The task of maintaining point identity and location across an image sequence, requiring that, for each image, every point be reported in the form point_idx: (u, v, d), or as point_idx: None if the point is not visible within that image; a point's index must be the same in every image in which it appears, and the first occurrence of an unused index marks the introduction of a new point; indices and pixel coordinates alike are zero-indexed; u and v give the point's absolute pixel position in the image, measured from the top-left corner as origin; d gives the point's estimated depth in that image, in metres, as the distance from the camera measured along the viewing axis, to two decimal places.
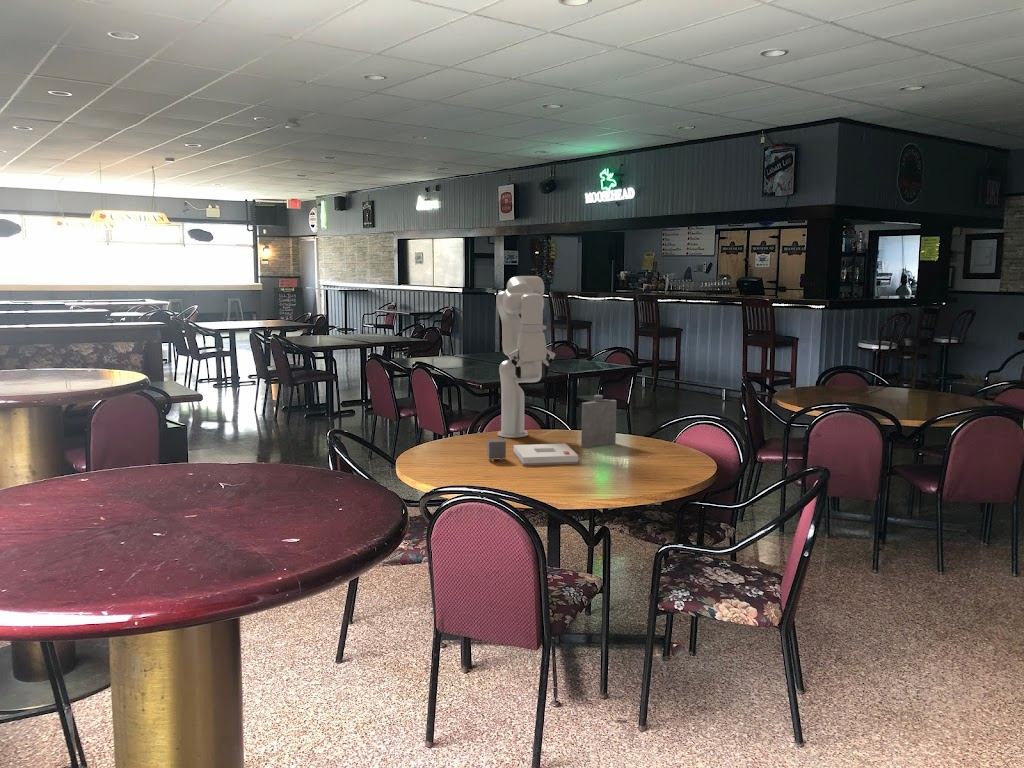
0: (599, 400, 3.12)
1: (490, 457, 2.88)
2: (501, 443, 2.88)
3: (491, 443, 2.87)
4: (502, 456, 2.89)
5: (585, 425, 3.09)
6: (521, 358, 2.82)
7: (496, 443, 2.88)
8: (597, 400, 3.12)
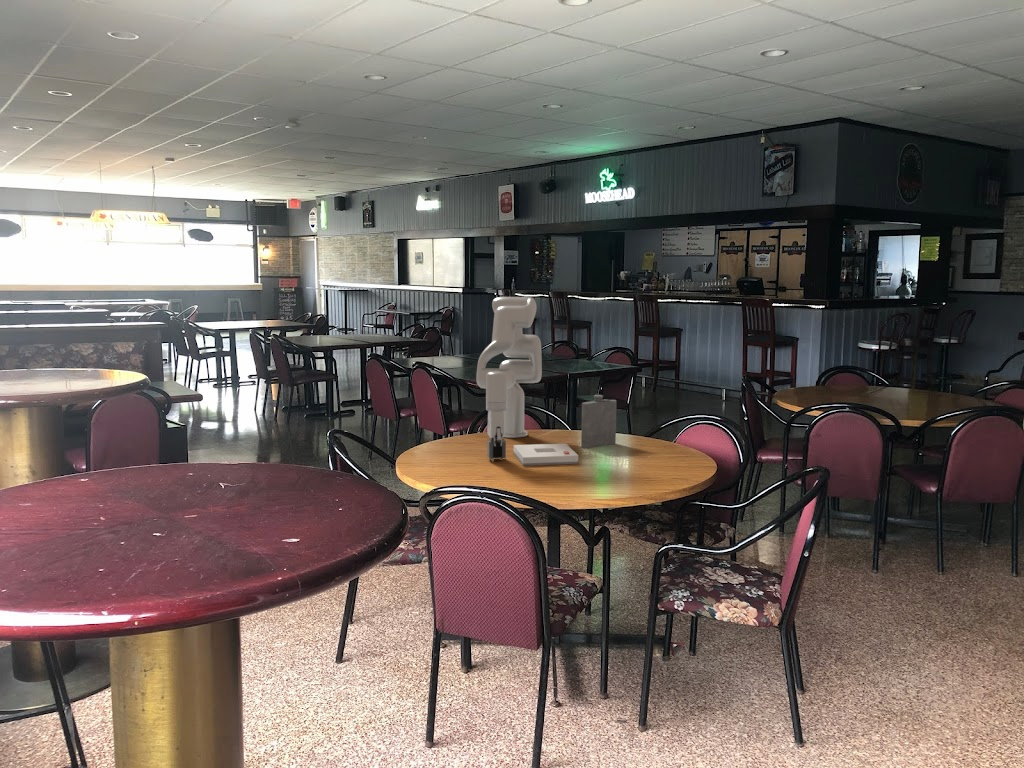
0: (599, 400, 3.12)
1: (490, 457, 2.88)
2: None
3: (491, 443, 2.87)
4: (502, 456, 2.89)
5: (585, 425, 3.09)
6: (503, 435, 2.86)
7: None
8: (597, 400, 3.12)
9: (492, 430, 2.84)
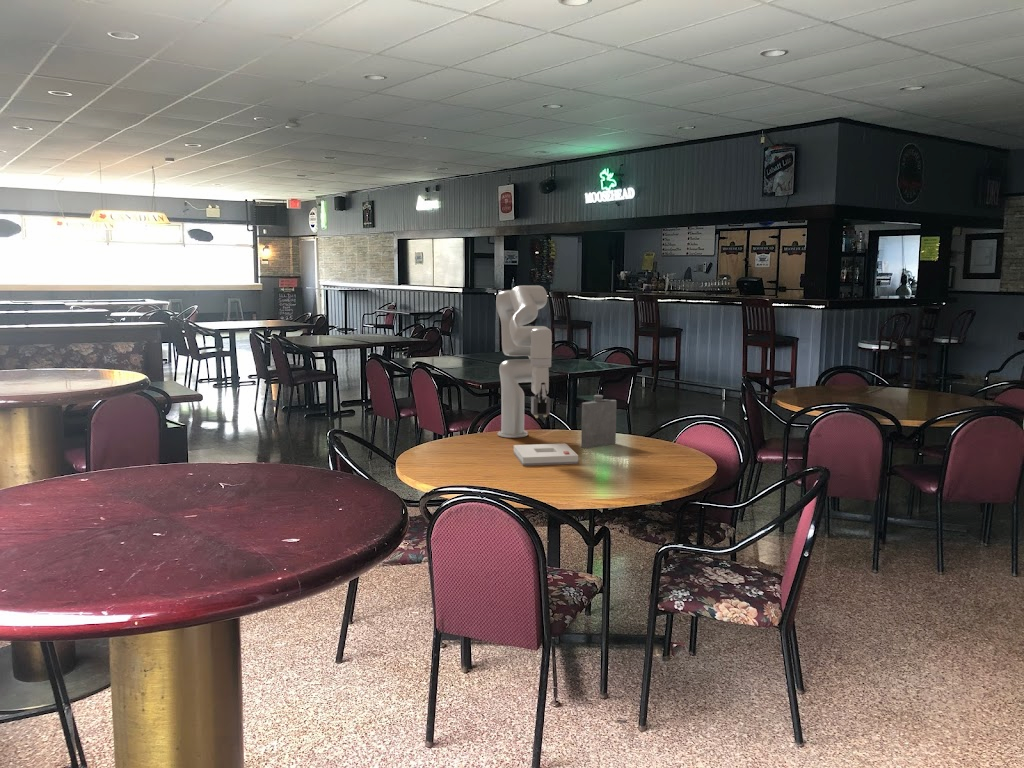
0: (599, 400, 3.12)
1: (534, 414, 2.88)
2: None
3: (535, 400, 2.88)
4: (546, 413, 2.89)
5: (585, 425, 3.09)
6: None
7: None
8: (597, 400, 3.12)
9: (537, 386, 2.85)
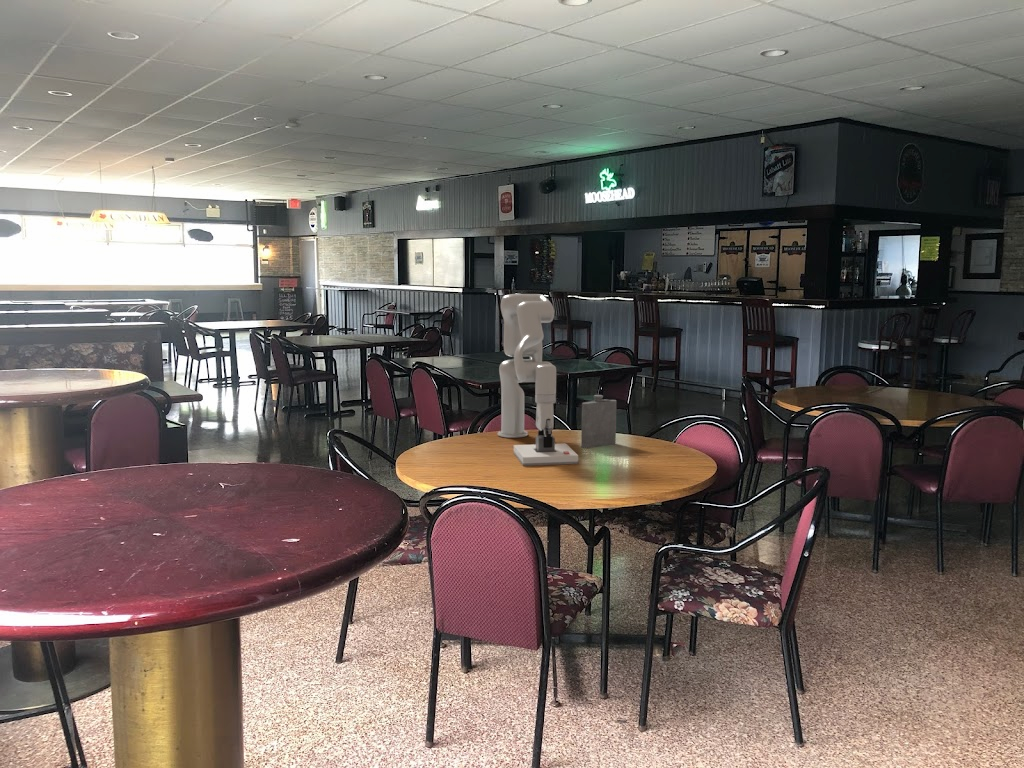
0: (599, 400, 3.12)
1: None
2: None
3: (540, 439, 2.90)
4: None
5: (585, 425, 3.09)
6: None
7: None
8: (597, 400, 3.12)
9: (542, 422, 2.87)
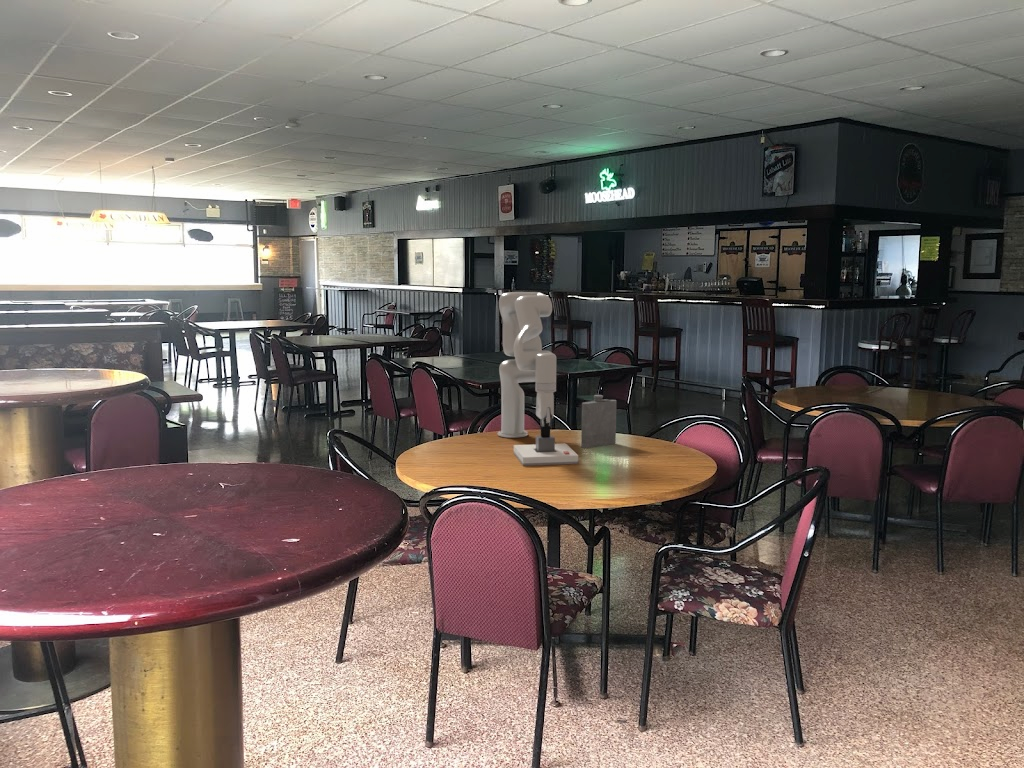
0: (599, 400, 3.12)
1: None
2: (550, 439, 2.91)
3: (540, 439, 2.90)
4: None
5: (585, 425, 3.09)
6: (553, 416, 2.88)
7: (545, 439, 2.90)
8: (597, 400, 3.12)
9: (542, 411, 2.86)
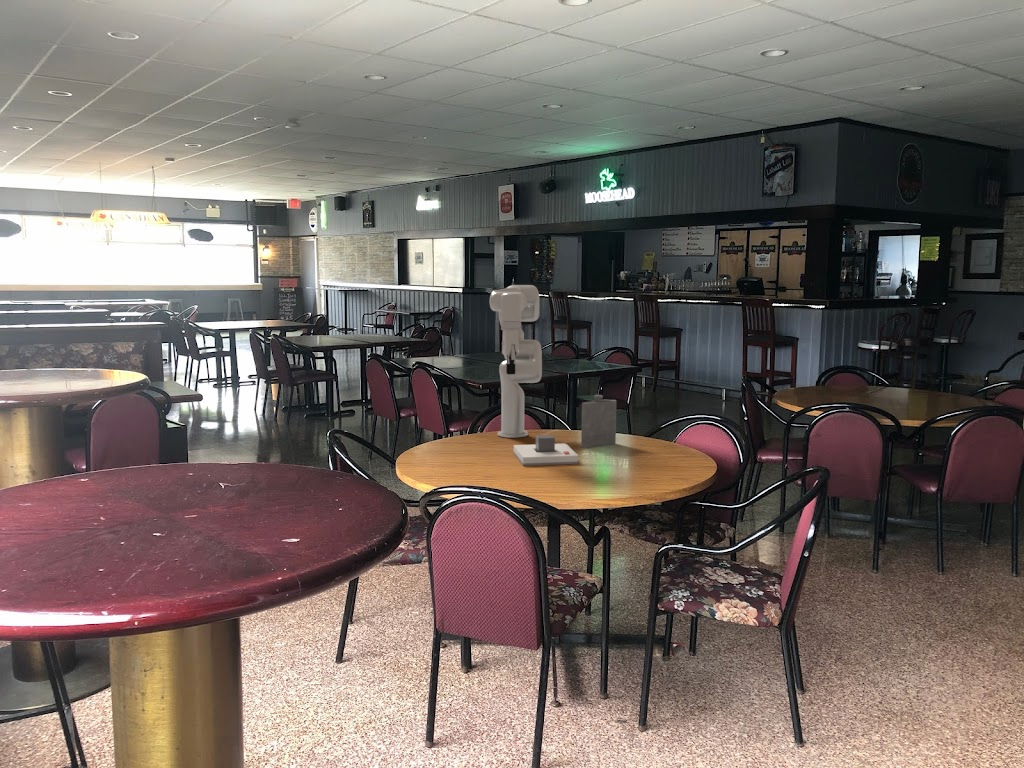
0: (599, 400, 3.12)
1: None
2: (550, 439, 2.91)
3: (540, 439, 2.90)
4: None
5: (585, 425, 3.09)
6: (517, 353, 3.00)
7: (545, 439, 2.90)
8: (597, 400, 3.12)
9: (507, 348, 2.98)
